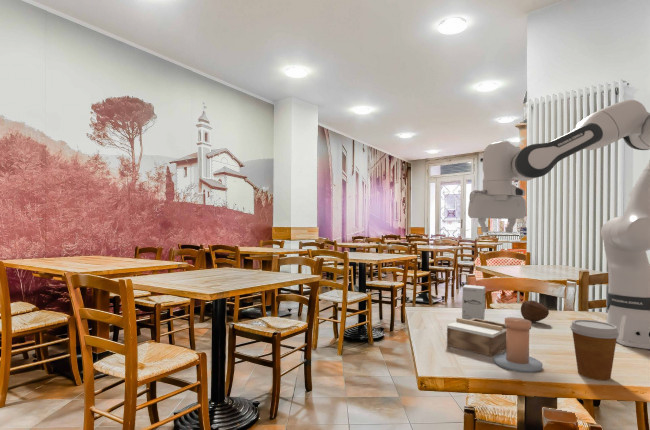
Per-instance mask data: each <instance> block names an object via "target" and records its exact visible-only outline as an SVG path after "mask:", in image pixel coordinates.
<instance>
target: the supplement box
mask: <svg viewBox="0 0 650 430" xmlns="http://www.w3.org/2000/svg"><path fill="white" fill-rule="evenodd" d="M461 297H462V301H461V302H462V305H461V310H462V312H461V319H466V320H470V319H472V318H476V319H482V320H485V311H486V309H485V308H486V306H485V305H486V286H483V285H474V284H473V285H471V284H464V285H463V286H462V296H461Z"/></svg>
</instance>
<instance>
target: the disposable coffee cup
mask: <svg viewBox="0 0 650 430" xmlns="http://www.w3.org/2000/svg"><path fill="white" fill-rule="evenodd" d="M569 328H570V330H571V333H572V338H573V344H574V345H573V347H574V353H575V359H576V368H577V373H578V375H580V376H582V377H584V378H587V379H591V380H596V381H609V380H611V377H612V370H613V365H614V358H615V351H616V346H617V342H616V339H617V337H618V335H619V332H618V330H617V327H616V326H614V325H612V324H609V323H606V321H605V322H603V321H598V320H590V319H574V320H572V322H571V324H570V326H569Z"/></svg>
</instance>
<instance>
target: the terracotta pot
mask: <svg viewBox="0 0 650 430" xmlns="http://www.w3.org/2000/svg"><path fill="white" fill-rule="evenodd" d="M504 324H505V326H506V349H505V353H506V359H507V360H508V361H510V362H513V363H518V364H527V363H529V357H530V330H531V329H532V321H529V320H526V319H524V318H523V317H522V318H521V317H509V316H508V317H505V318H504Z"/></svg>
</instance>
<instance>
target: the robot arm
mask: <svg viewBox="0 0 650 430" xmlns="http://www.w3.org/2000/svg"><path fill="white" fill-rule="evenodd" d="M621 139H623V141H624V142H625V144H626V145H627V146H629V147H630V148H631V149H634V150H637V151H638V150H639V151H649V150H650V112H649V111H647V109H646V107H645V106H644V104H643V103H641V102H640V101H638V100H635V99H626V100H623V101H620V102H616V103H613V104H611V105H609V106H605V107H603V108H601V109H599V110H596V111H595V112H593V113H591V114H589V115H588V116H586V117H584V118H583V119H582V120H581V121H579V122H578V123H576V124H575V126H574V128H573V129H572V131H569V132H568V133H565V134H564V135H561V136H559V137H557V138H556V139H553V140H551V141H549V142H543V143H542V142H541V143H532V144H528V145H526V146H525V147H523V148H520V147H518V146H515V145H514V144H512V143H510V142H509V141H508V140H501V141H496V142H493V143H490V144H489V145H487V146H486V147H485V148H484V151H483V155H482V172H483V179H482V189H473V190H471V192H470V194H469V202H468V208H467V209H468V210H467V215H468V217H469V218H470V219H477V222H478V224H479V226H480V231H481V233H489V232H490V229H489V228H490V227H489V226H487V224H486V222H487V219H501V220H502V219H503V220H507V223H508V225H507V226H506V227H504V228H505V230H504V232H505V233H507V234H508V233H509V234H510V233H511V234H512V233H513V232H514V231H513V230H514V229H513V228H514V227H515V225H516V222H517V220H524V219H525V217H526V215H527V206H526V205H527V204H526V203H527V202H526V199H525V198H524V196H525V195H526V190H525V189H523V188H522V187H519V186H517V185H515V184H513V181H512V180H515V181H520V182H527V181H531V180H534V179H537V178H540V177H544V176H546V175H547V174H548V173H550V172H551V171H552V169H553V168H555V166H556V165H557V164H558V163H559V162H560V161H562V160H563V159H566V158H568V157H570V156H572V155H573V154H576V153H577V152H580V151H582V150H587V151H594V150H598V149H601V148H604V147H607V146H608V145H611V144H613V143H616V142H617V141H619V140H621ZM600 236H601V239H602V241H603V247H604V252H605V257H606V261H607V271H608V292H607V293H606V299H605V301H606V302H605V303H606V305H605V306H606V309H607V315H606V320H605V323H609V324H612V325H614V326H616V327H617V330H618V332H619V335H618V337H617V339H616V343H617V344H619V345H622V346H626V347H632V348H639V349H645V350H650V262H649V261H650V260H649V258H648V254H647V252H648V251H650V159H649V161H648V163H647V164H646V166H645V168H644V169H643V170H642V173H641V174H640V176H639V177H638V179H637V181H636V183H635V184H634V185H633V187H632V189H631V190H630V193H629V200H628V203H627V206H626V209H625V211H624V212H623V215H621V216H615V217H613V218H611V219H608V220H607V221H606V222H605V223H604V224H603V225H602V227H601V229H600Z"/></svg>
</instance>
